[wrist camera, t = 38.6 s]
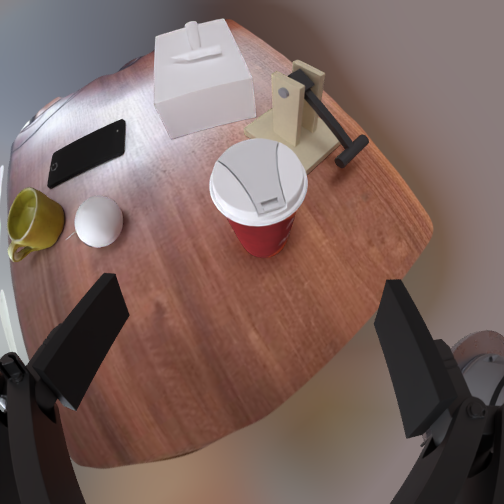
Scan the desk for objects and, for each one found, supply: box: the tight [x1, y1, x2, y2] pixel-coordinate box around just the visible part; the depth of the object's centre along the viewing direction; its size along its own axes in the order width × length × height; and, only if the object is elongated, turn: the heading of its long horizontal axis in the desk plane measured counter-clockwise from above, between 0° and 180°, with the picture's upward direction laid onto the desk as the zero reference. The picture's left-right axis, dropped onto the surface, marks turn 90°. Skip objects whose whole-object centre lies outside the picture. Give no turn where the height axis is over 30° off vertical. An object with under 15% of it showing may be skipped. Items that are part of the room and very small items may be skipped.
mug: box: [7, 187, 64, 262], centre depth 35 cm, size 12×10×10 cm
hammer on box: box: [154, 19, 256, 139], centre depth 40 cm, size 14×25×11 cm, turn 13°
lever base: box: [244, 60, 341, 175], centre depth 34 cm, size 12×10×13 cm
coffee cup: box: [209, 138, 308, 258], centre depth 29 cm, size 8×8×15 cm
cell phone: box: [47, 119, 125, 188], centre depth 42 cm, size 9×18×1 cm, turn 104°
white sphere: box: [66, 196, 123, 248], centre depth 34 cm, size 10×7×7 cm
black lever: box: [288, 69, 369, 168], centre depth 31 cm, size 13×6×2 cm, turn 45°
